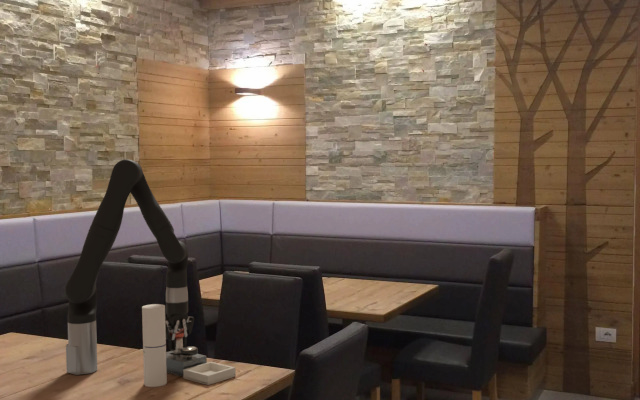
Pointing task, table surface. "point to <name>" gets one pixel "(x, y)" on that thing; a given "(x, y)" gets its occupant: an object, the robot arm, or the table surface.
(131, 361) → the table surface
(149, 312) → the cylindrical container
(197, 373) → the dish
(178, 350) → the pin
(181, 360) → the dark grey block
